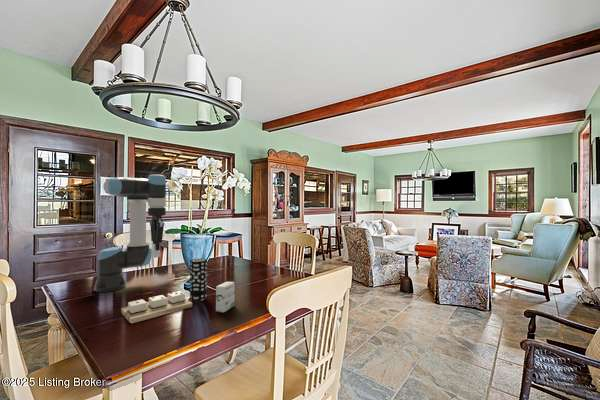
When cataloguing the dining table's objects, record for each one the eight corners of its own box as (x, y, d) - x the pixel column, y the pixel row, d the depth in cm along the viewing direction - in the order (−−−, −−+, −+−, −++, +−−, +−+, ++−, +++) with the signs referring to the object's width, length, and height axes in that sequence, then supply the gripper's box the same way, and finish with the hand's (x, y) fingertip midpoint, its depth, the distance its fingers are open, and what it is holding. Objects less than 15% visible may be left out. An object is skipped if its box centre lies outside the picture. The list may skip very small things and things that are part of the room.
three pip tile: (167, 299, 135) (167, 293, 135) (180, 296, 140) (180, 290, 140) (172, 303, 131) (172, 296, 131) (184, 300, 135) (184, 293, 135)
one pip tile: (127, 309, 123) (127, 302, 123) (142, 305, 127) (142, 298, 127) (131, 313, 119) (131, 305, 119) (146, 309, 123) (146, 302, 123)
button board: (121, 312, 126) (121, 308, 126) (179, 298, 144) (179, 294, 144) (130, 323, 114) (130, 318, 114) (192, 306, 133) (192, 302, 133)
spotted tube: (187, 298, 144) (187, 260, 144) (202, 294, 150) (202, 257, 150) (194, 302, 138) (194, 262, 139) (209, 298, 145) (210, 260, 145)
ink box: (226, 304, 136) (226, 280, 136) (235, 306, 134) (235, 281, 134) (215, 311, 128) (215, 285, 128) (224, 312, 126) (224, 287, 126)
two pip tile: (148, 304, 129) (148, 297, 129) (162, 301, 133) (162, 294, 134) (152, 308, 125) (152, 300, 125) (166, 304, 129) (166, 297, 129)
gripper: (144, 207, 133) (143, 256, 133) (152, 207, 123) (152, 260, 123) (160, 206, 138) (160, 254, 138) (170, 207, 129) (169, 257, 129)
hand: (156, 256), depth 131 cm, fingers closed
